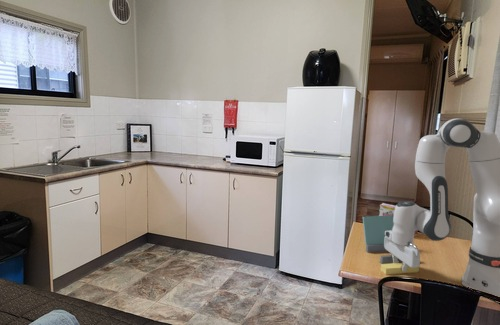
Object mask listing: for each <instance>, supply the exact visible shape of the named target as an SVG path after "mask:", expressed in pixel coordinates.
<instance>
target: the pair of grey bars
mask: <svg viewBox="0 0 500 325" xmlns="http://www.w3.org/2000/svg"><path fill="white" fill-rule="evenodd" d="M365 246H366V247H365V251H366V253H379V252H380V253H381V252H388V251H387V250H386V249H385V247H384V244H370V245H365ZM397 259H398V258H397ZM398 261H399V263H403V261H401V260H400V259H398ZM379 263H380V265H381V264H391V263H393V258H392V254H385V255H380V261H379Z"/></svg>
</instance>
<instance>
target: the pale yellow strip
mask: <svg viewBox="0 0 500 325" xmlns="http://www.w3.org/2000/svg"><path fill="white" fill-rule="evenodd" d="M403 265H404V264H403V263H391V264H381V263H380V269H379V270H380V271H381V272H382V273H384V274H385V275H394V274H396V275H397V274H410V273H419V271H420V266H419V267H417V268H411V267H410V266H408V267H407V270H406V271H402V270H401V266H403Z"/></svg>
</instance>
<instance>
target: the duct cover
mask: <svg viewBox="0 0 500 325" xmlns="http://www.w3.org/2000/svg"><path fill="white" fill-rule="evenodd" d="M393 217H394V215H388V216H379V215H372V216H371V215H367V216H362V224H363V234H364V243H365V246H366V245H370V244H384V238H385V236H386V235H385V231H388V230H392V228H393V226H394V223H393Z"/></svg>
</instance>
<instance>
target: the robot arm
mask: <svg viewBox="0 0 500 325" xmlns="http://www.w3.org/2000/svg"><path fill="white" fill-rule="evenodd" d="M451 147H456V148H465V149H466V152H467V154H468V155H467V156H468V161H469V162H468V163H469V168H470V173H471V178H472V182H473V185H474V188H475V192H476V193H475V194H474V196H473V210H472V211H473V212H472V213H473V215H472V218H473V219H472V222H473V228H472V237H471V244H470V245H471V246H470V247H469V250H468V261H467V264H466V268H465V271H464V273H463V274H462V277H461V280H462V283H461V285H463V286H464V287H466V288H468V287H469V288H468V289H470V288H473V289H476V290H480V291H484V292H487V293H490V294H493V295H495V296H498V297H500V141H499V137H498V136H497V134H496V133H495V132H493V131H491V130H478V129H477V127H475V126H474V124H473V123H471V122H470V121H468V120H466V119H463V118H459V117H458V118H451V119H447V120H446V121H445V122H443V123H442V124H441V125H440V126H439V128H438V130H436V132H435V133H434V134H427V135H424V136H423V137H421V138H420V140H419V141H418V144H417V148H416V153H415V160H414V172H415V176H416V178H417V179H418V180H419V181H420V182H421V183H422V184H423V185H424V186H425V188H426V189H427V191H428V193H429V198H430V199H429V202H430V203H429V204H430V205H429V207H430V208H429V209H427V208H424V207H421V206H419V205H418V204H417V203H415V202H414V201H410V200H402V201H399V202H398V203H397V204H396V205H395V206H396V207H395V210H394V217H393V223H394V226H393V228H392V230H388V231H385V235H386V236H385V238H384V247H385V249H386V250H387V251H386V252H389V254H390V255H392V258H393V263H399V261H398V259H400V260H401V261H403V264H404V265H403V266H401V270H402V271H406V270H407V267H408V266H410V267H411V268H417V267H419V268H420V265H421V254H420V253H421V252H420V250H419V248H418V246H417V245H415V244H414V241H415V240H414V239H415V234H416V233H415V231H416V230H418V231H419V232H421V233H422V234H424V235H425V236H426V237H427V238H428V239H429V240H431V241H433V242H439V241H443V240H444V239H446V238H448V236H449V235H450V234H451V232H452V231H451V230H452V225H451V220H450V218H449V188H448V182H447V178H446V171H445V170H446V166H445V165H446V157H447V156H446V155H447V152H448V150H449V149H450V148H451ZM397 258H398V259H397Z"/></svg>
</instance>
